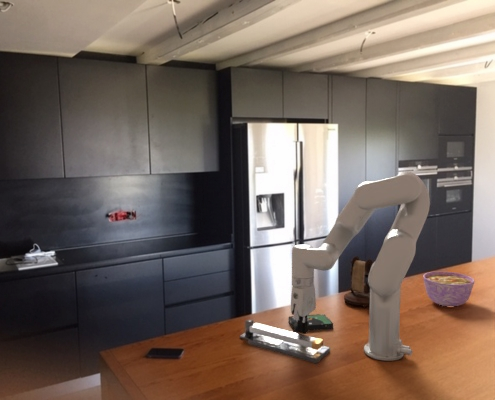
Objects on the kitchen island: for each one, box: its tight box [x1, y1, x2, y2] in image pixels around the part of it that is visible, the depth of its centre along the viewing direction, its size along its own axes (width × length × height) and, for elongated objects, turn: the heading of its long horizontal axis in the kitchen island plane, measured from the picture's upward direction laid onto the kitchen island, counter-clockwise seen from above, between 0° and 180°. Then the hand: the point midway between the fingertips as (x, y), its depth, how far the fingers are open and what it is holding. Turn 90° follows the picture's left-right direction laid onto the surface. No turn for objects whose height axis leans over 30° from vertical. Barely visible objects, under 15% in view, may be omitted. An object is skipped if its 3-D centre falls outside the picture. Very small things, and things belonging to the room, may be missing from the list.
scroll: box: [343, 255, 374, 309], centre depth 201 cm, size 15×15×20 cm
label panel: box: [239, 332, 331, 364], centre depth 160 cm, size 32×10×2 cm, turn 55°
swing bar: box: [244, 319, 324, 350], centre depth 160 cm, size 30×4×5 cm, turn 55°
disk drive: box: [288, 313, 334, 333], centre depth 178 cm, size 10×3×15 cm
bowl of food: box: [422, 271, 475, 307], centre depth 198 cm, size 20×20×12 cm
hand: (302, 332), depth 163 cm, fingers closed
